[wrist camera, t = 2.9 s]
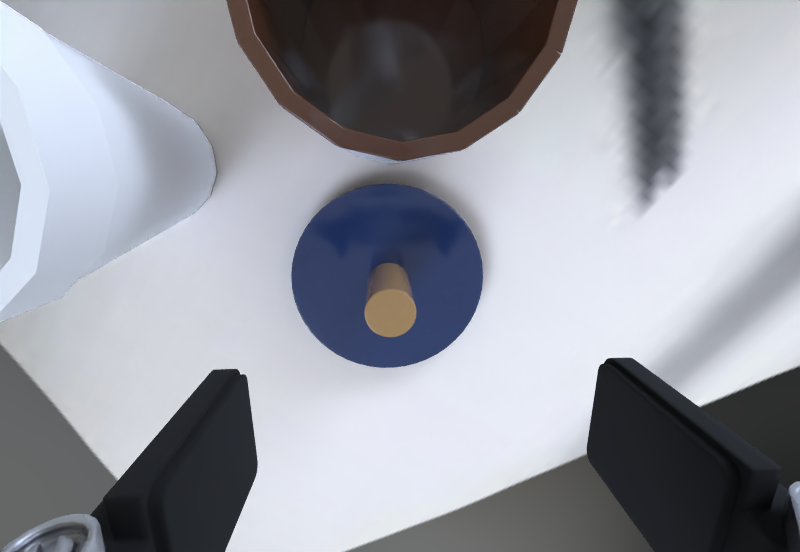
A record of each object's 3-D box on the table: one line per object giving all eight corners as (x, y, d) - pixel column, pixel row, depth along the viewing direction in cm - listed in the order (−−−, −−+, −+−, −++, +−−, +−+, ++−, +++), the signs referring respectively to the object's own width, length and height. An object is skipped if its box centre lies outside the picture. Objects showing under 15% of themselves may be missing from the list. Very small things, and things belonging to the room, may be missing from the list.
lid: (261, 300, 23) (220, 345, 17) (361, 142, 21) (354, 132, 15) (409, 388, 25) (418, 454, 19) (515, 253, 23) (560, 282, 17)
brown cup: (256, 85, 20) (151, 14, 11) (365, -113, 18) (350, -407, 9) (416, 199, 22) (441, 221, 13) (530, 34, 20) (658, -80, 11)
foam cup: (276, 142, 21) (117, 102, 8) (197, 276, 22) (-31, 411, 10) (108, 26, 19) (-430, -255, 6) (37, 182, 21) (-489, 204, 8)
